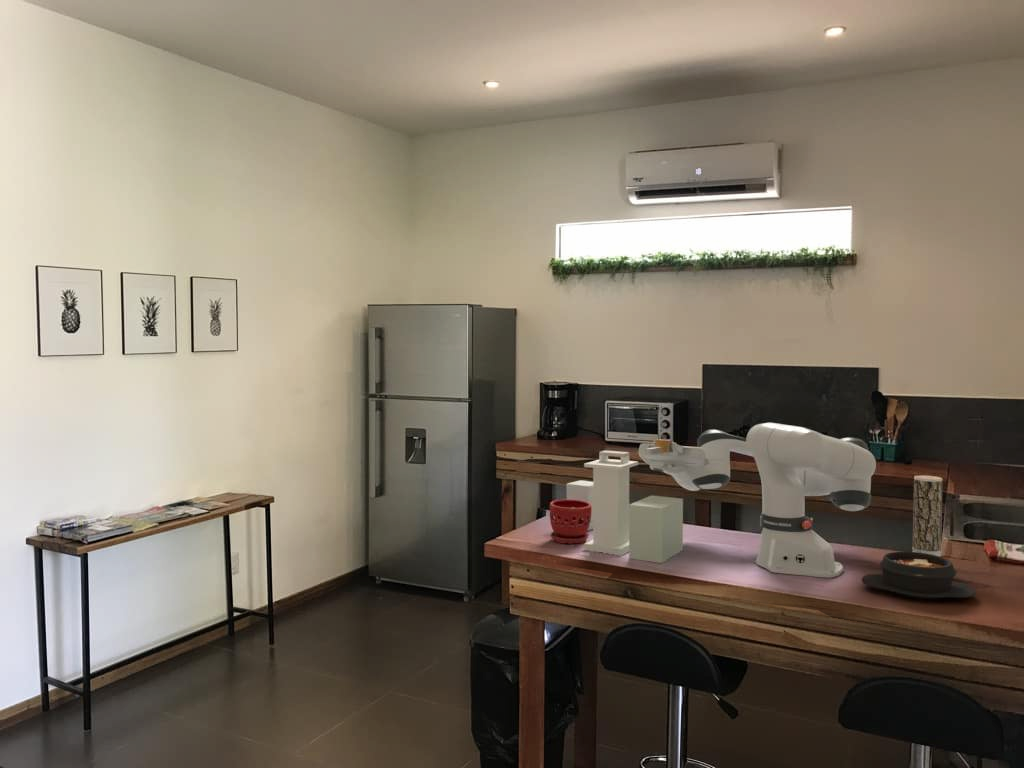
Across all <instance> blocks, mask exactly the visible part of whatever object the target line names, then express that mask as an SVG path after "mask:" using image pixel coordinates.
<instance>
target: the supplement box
mask: <svg viewBox="0 0 1024 768" xmlns="http://www.w3.org/2000/svg"><path fill="white" fill-rule="evenodd" d="M565 485H566V500H580V501H585V502H588V503H590V504H591V506H592V511H591V520H590V525H589V528H588V530H587V532H589V531H591V530H593V481H589V480H582V479H581V480H576V481H572V482H568V483H566V484H565ZM572 508H575V507H572ZM582 520H583V518H582Z"/></svg>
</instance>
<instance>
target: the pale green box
mask: <svg viewBox="0 0 1024 768" xmlns="http://www.w3.org/2000/svg"><path fill="white" fill-rule="evenodd" d="M683 512H684V498H678V497H670V496H662V495H661V496H660V495H649V496H647V497H644V498H641V499H639V500H637V501H635V502H632V503H629V552H628V558H629V559H633V560H639V561H646V562H652V563H658V564H659V563H660V564H663V563H665V562H666V561H668V560H669V558H670V557H671V558H673V557H674V556H676V555H678V554H679V553H681V552H682V550H683V541H684V540H683V539H684V538H683V537H684V536H683V535H684V532H683V527H684V526H683V525H684V514H683ZM680 551H681V552H680ZM677 553H678V554H677ZM675 554H676V555H675ZM673 555H674V556H673ZM672 556H673V557H672ZM671 558H670V559H671ZM667 559H668V560H667Z"/></svg>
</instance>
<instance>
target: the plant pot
mask: <svg viewBox="0 0 1024 768" xmlns="http://www.w3.org/2000/svg"><path fill="white" fill-rule="evenodd" d="M572 507H575V508H572ZM591 511H592V506H591V504H590V503H588V502H585V501H580V500H567V499H555V500H552V501H551V502H549V522H550V526H551V528H552V532H551V533H550V538H551V539H552V540H554V541H555V542H557V543H559V544H565V543H568V544H567V545H574V544H573V543H576V544H581V543H583V542H586V541H587V539H588V538H589V534H588V533H587V532H588V531H587V530H588V528H589V525H590V520H591ZM582 518H583V520H582Z"/></svg>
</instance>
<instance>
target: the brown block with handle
mask: <svg viewBox="0 0 1024 768" xmlns="http://www.w3.org/2000/svg"><path fill="white" fill-rule="evenodd" d="M654 441H655V447H654V448H647V449H645V454H647V455H652V454H658V453H670V452H673V450H672V449H671V448H670V445H671V442H674V439H663V438H662V439H661V438H660V439H655V440H654Z"/></svg>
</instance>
